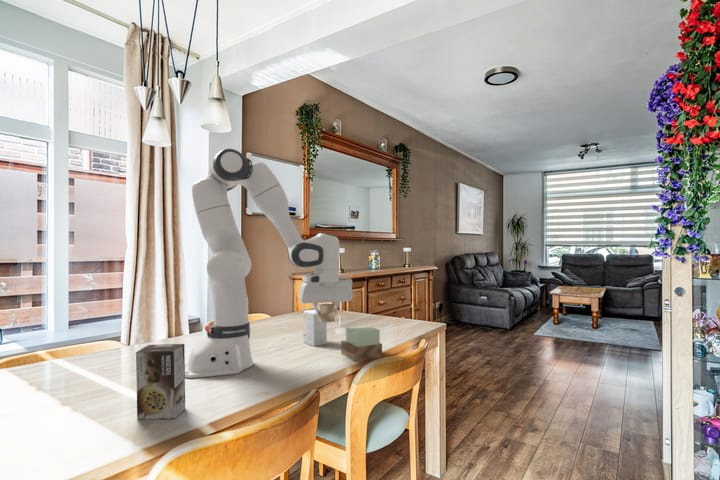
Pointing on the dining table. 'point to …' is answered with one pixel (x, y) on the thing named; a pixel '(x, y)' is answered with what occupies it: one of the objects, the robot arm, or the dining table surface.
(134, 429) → the dining table surface
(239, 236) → the robot arm
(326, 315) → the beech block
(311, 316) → the small box
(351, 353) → the walnut block
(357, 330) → the sage block
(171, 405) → the coffee box
